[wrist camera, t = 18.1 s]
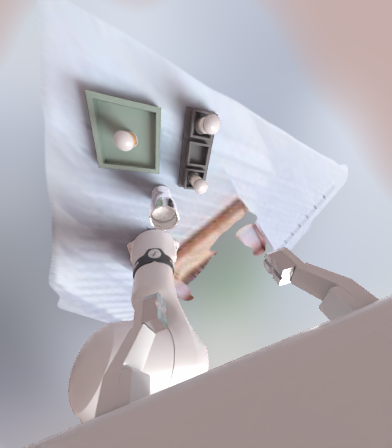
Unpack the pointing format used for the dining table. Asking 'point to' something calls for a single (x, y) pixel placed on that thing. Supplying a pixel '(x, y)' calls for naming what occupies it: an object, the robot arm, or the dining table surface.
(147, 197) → the dining table surface
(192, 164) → the fuse block
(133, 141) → the cylinder
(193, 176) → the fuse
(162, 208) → the beer glass
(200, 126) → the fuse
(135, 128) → the parts tray
